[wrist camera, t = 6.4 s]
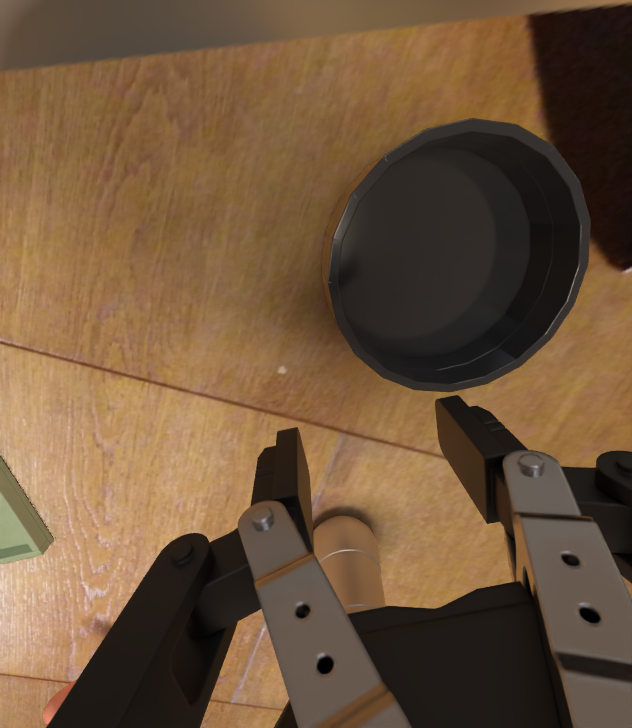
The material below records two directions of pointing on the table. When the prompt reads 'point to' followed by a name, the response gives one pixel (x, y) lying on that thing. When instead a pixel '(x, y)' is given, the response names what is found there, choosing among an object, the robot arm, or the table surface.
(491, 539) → the table surface
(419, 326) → the bowl
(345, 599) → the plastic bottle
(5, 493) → the tray
